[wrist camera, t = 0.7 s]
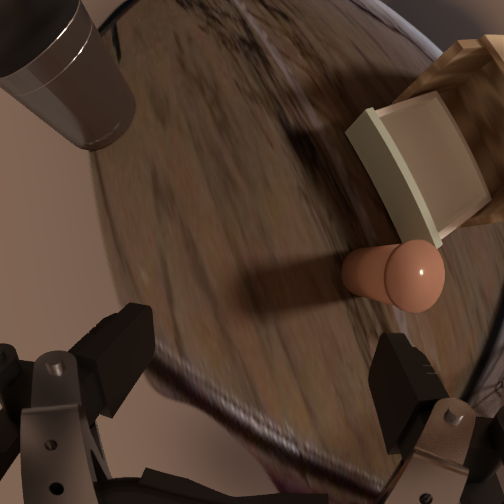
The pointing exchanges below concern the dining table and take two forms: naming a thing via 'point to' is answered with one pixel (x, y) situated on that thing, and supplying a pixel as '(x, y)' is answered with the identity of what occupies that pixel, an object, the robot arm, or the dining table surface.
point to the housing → (473, 109)
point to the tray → (420, 167)
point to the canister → (396, 274)
